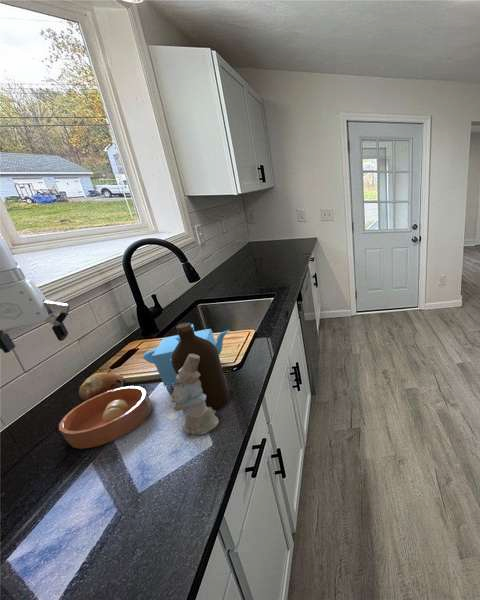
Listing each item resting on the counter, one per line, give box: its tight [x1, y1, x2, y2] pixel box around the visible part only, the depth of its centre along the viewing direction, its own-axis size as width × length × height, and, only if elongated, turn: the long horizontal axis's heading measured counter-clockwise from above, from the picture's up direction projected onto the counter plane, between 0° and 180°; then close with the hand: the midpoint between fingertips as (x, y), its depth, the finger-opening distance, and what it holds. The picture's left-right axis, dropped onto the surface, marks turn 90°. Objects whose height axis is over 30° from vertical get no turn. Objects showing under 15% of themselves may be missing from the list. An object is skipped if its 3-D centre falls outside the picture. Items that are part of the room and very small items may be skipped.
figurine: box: [170, 354, 220, 436], centre depth 78 cm, size 9×8×20 cm
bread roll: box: [78, 372, 126, 402], centre depth 97 cm, size 10×10×8 cm
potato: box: [102, 400, 128, 423], centre depth 85 cm, size 8×5×5 cm
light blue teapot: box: [142, 323, 231, 387], centre depth 101 cm, size 19×19×15 cm
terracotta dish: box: [58, 385, 153, 450], centre depth 84 cm, size 18×18×5 cm
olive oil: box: [171, 322, 231, 411], centre depth 85 cm, size 11×11×25 cm
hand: (37, 344), depth 77 cm, fingers open, 9 cm apart
